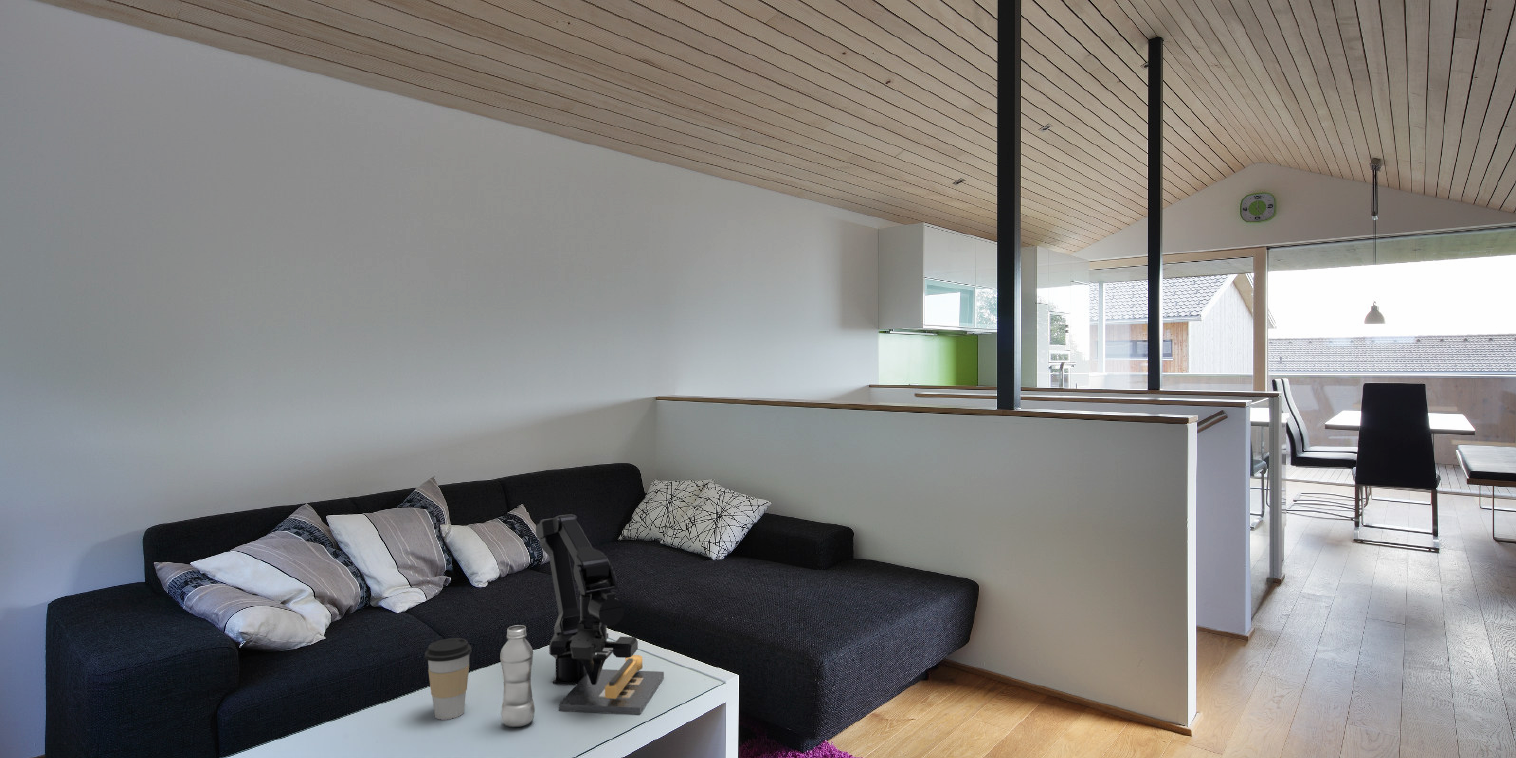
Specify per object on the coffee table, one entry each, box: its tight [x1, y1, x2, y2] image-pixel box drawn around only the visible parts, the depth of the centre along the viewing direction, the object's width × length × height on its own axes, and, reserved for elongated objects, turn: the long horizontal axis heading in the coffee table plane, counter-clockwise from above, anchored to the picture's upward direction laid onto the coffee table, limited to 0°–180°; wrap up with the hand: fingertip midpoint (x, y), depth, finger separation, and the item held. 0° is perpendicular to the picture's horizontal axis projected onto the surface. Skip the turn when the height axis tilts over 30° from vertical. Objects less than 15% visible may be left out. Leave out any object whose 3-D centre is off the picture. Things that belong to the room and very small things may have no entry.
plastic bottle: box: [499, 624, 536, 728], centre depth 159 cm, size 6×7×20 cm
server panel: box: [558, 668, 665, 716], centre depth 174 cm, size 18×20×2 cm
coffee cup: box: [423, 637, 473, 721], centre depth 164 cm, size 9×9×15 cm
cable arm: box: [605, 654, 643, 699], centre depth 175 cm, size 4×19×3 cm, turn 172°
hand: (594, 684), depth 170 cm, fingers closed
